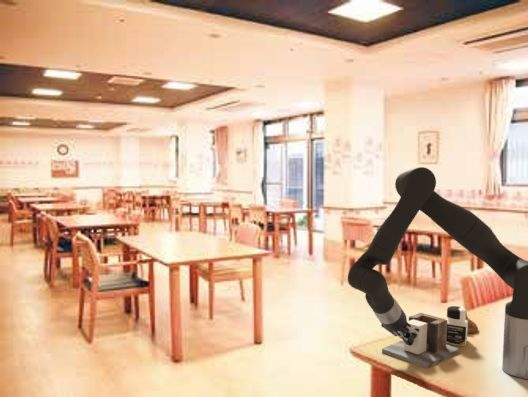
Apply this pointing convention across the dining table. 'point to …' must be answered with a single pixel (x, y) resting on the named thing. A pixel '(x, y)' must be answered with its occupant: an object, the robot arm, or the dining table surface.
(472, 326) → the bell
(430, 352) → the u-shaped block stand
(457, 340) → the medicine bottle
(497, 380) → the dining table surface
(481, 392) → the dining table surface
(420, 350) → the peg
